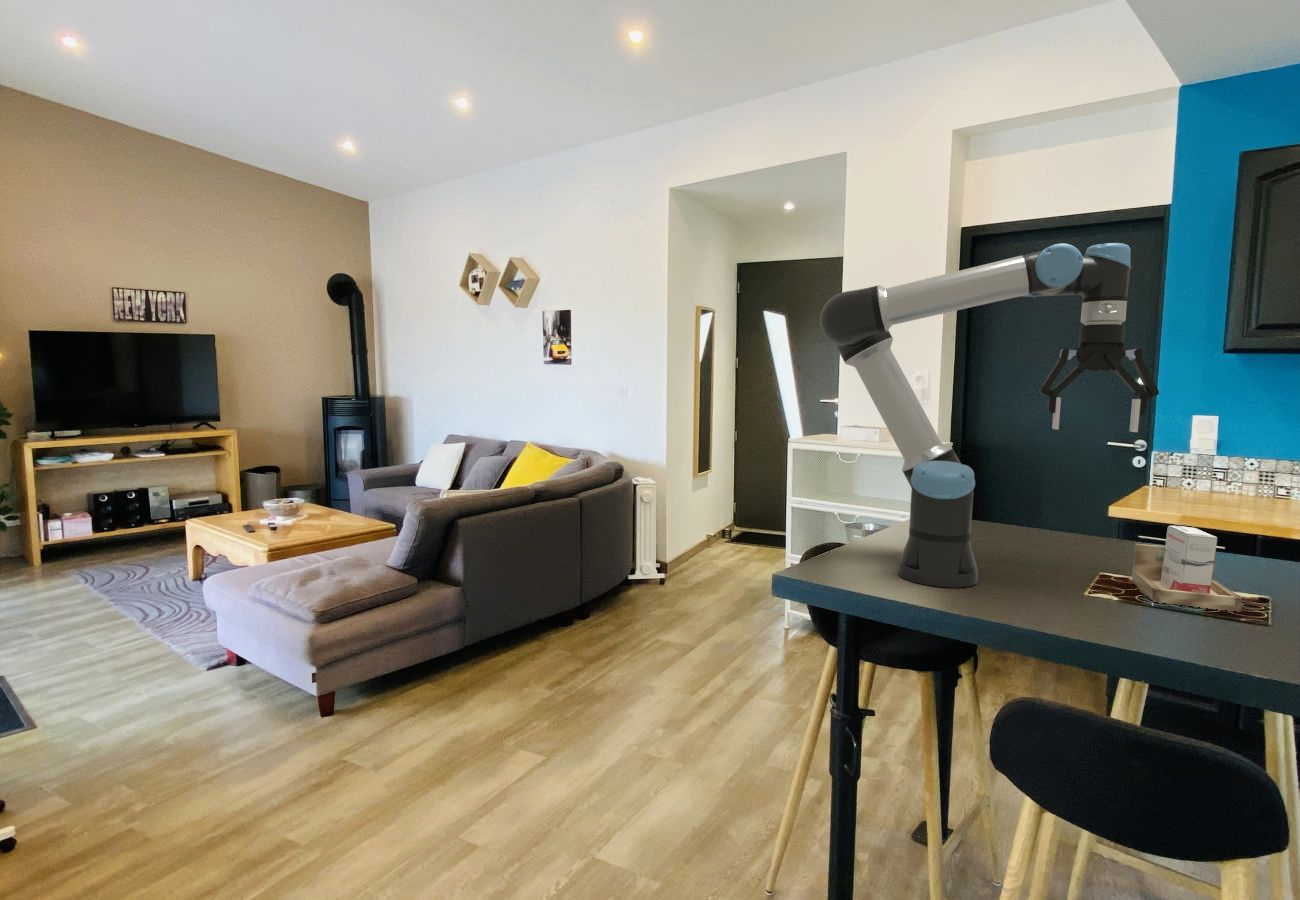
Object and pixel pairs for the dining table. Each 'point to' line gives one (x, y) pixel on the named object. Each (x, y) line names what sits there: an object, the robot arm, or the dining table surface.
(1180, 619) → the dining table surface
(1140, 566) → the drawer
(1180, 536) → the ink box
